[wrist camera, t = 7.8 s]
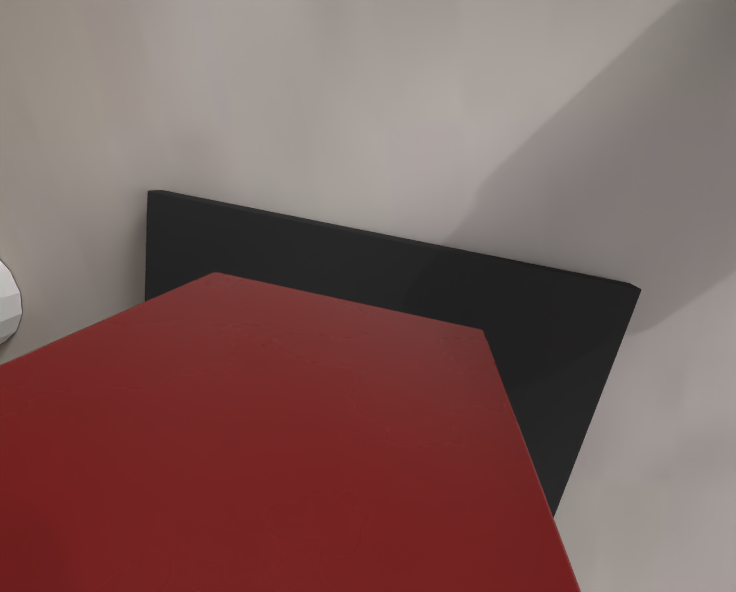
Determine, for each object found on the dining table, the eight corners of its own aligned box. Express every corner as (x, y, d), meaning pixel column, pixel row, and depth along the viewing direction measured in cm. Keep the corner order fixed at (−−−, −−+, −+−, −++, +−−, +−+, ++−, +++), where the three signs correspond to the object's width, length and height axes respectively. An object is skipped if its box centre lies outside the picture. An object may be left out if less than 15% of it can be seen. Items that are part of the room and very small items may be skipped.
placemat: (629, 283, 17) (642, 289, 16) (523, 566, 21) (528, 584, 20) (161, 189, 18) (147, 190, 17) (152, 471, 22) (140, 484, 22)
